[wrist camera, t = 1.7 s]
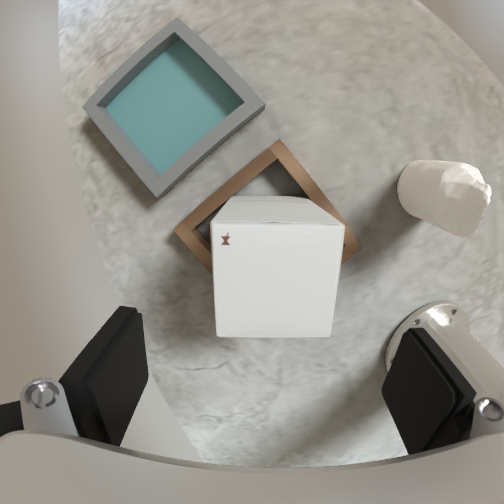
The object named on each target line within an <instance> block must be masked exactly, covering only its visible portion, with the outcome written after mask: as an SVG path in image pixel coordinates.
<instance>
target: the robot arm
mask: <svg viewBox="0 0 504 504" xmlns="http://www.w3.org/2000/svg"><path fill="white" fill-rule="evenodd" d="M385 365H386V370H387V372H388V374H387V377H386V379H385V381H384V384H383V386H382V396H383V398H384V400H385V402H386V404H387V406H388V409H389V411H390V413H391V415H392V418H393V420H394V422H395V424H396V426H397V429H398V431H399V433H400V436H401V438H402V440H403V443H404V445H405V447H406V450H407V452H408V454H409V455H406V456H401V457H396V458H391V459H385V460H379V461H372V462H365V463H357V464H348V465H338V466H325V467H305V468H262V467H241V466H228V465H218V464H209V463H200V462H193V461H186V460H180V459H174V458H169V457H164V456H158V455H153V454H148V453H143V452H139V451H134V450H130V449H126V448H122V447H120V444H121V442H122V439H123V437H124V435H125V432H126V430H127V427H128V425H129V423H130V420H131V418H132V416H133V413H134V411H135V409H136V406H137V404H138V402H139V400H140V397H141V395H142V393H143V390H144V388H145V386H146V384H147V381H148V366H147V358H146V350H145V341H144V331H143V320H142V314H141V313H138V312H137V309H136V308H132V307H125V306H120V307H119V308H118V309H117V310H116V311H115V312H114V314H113V315H112V316H111V317H110V318H109V319H108V320H107V322H106V323H105V324H104V325H103V326H102V328H101V329H100V330H99V331H98V333H97V334H96V335H95V336H94V337H93V339H91V340H90V342H89V343H88V344H87V345H86V347H85V348H84V349H83V350H82V352H81V353H80V354H79V355H78V357H77V358H76V359H75V361H74V362H73V363H72V364H71V365H70V367H69V368H68V369H67V371H66V372H65V373H64V374H63V376H62V377H61V378H60V380H59V381H56V380H53V379H51V378H38V379H34V380H32V381H30V382H28V383H27V384H26V385H25V386H24V387H23V388H22V391H21V393H20V401H16V402H11V403H7V404H3V405H0V504H504V368H503V367H502V366H501V365H500V364H499V363H498V362H497V361H496V360H495V359H494V358H493V357H492V356H491V354H490V353H489V352H488V351H487V350H486V349H485V348H484V347H483V346H482V345H481V344H480V343H479V342H478V341H477V340H476V339H475V338H474V337H473V336H472V335H471V334H470V333H469V321H468V317H467V315H466V313H465V312H464V311H463V310H462V309H461V308H460V307H459V306H458V305H456V304H455V303H452V302H449V301H439V302H433V303H431V304H428V305H425V306H424V307H422V308H420V309H418V310H417V311H415V312H414V313H413V314H411V315H410V316H409V317H408V318H407V319H406V320H405V321H404V322H403V323H402V324H401V325H400V326H399V328H398V329H397V330H396V332H395V333H394V335H393V337H392V338H391V340H390V342H389V345H388V347H387V351H386V355H385Z"/></svg>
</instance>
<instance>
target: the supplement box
mask: <svg viewBox="0 0 504 504" xmlns="http://www.w3.org/2000/svg"><path fill="white" fill-rule="evenodd" d="M344 233H345V225H344V224H342V223H341V222H340V221H338V220H337V219H336V218H334V217H333V216H332V215H330V214H329V213H327V212H326V211H325V210H323V209H322V208H320V207H319V206H318V205H316V204H315V203H313V202H312V201H311V200H309V199H308V198H307V197H296V196H252V195H239V196H234V195H232V196H231V197H230V198H229V200H228V201H227V202H226V203H225V205H224V206H223V207H222V208H221V209H220V211H219V212H218V213H217V214H216V216H215V217H214V218H213V219H212V221H211V222H210V234H211V255H212V273H213V289H214V305H215V321H216V336H217V337H232V338H328V337H330V336H331V328H332V321H333V314H334V307H335V301H336V294H337V288H338V281H339V274H340V266H341V259H342V250H343V242H344Z"/></svg>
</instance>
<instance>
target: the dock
mask: <svg viewBox="0 0 504 504" xmlns="http://www.w3.org/2000/svg"><path fill="white" fill-rule="evenodd" d="M83 109H84V110H85V111H86V113H87V114H88V115H89V116H90V118H91V119H92V120H93V121H94V123H95V124H96V125H97V126H98V128H99V129H100V130H101V131H102V133H103V134H104V135H105V136H106V138H107V139H108V140H109V141H110V143H111V144H112V145H113V146H114V147H115V149H116V150H117V151H118V152H119V154H120V155H121V156H122V157H123V158H124V160H125V161H126V162H127V163H128V164H129V166H130V167H131V168H132V169H133V170H134V172H135V173H136V174H137V175H138V176H139V178H140V179H141V180H142V181H143V182H144V184H145V185H146V186H147V187H148V188H149V189H150V191H151V192H152V193H153V194H154V195H155V197H156V198H157V197H160V196H163V195H165V194H166V193H167V192H168V191H169V190H171V189H172V188H173V187H174V186H175V185H176V184H177V183H178V182H179V181H180V180H181V179H182V178H183V177H184V176H186V175H187V174H188V173H189V172H190V171H191V170H192V169H193V168H194V167H196V166H197V165H198V164H199V163H200V162H201V161H202V160H203V159H205V158H206V157H207V156H208V155H209V154H210V153H211V152H213V151H214V150H215V149H216V148H217V147H218V146H220V145H221V144H222V143H223V142H224V141H226V140H227V139H228V138H229V137H230V136H232V135H233V134H234V133H235V132H236V131H238V130H239V129H240V128H241V127H243V126H244V125H245V124H246V123H248V122H249V121H250V120H251V119H253V118H254V117H255V116H256V115H258V114H259V113H260V112H262V111H263V110H264V109H265V103H264V102H263V101H262V100H261V99H260V97H259V96H258V95H257V94H256V93H255V92H254V91H253V90H252V89H251V88H250V87H249V86H248V85H247V84H246V82H245V81H244V80H243V79H242V78H241V77H240V76H239V75H238V74H237V73H236V72H235V71H234V70H233V69H232V68H231V67H230V66H229V65H228V64H227V63H226V62H225V61H224V60H223V59H222V58H221V57H220V56H219V55H218V54H217V53H216V52H215V51H214V50H213V49H212V48H211V47H210V46H208V45H207V44H206V43H205V42H204V41H203V40H202V39H201V38H200V37H199V36H198V35H197V34H196V33H194V32H193V31H192V30H191V29H190V28H189V27H188V26H187V25H186V24H184V23H183V22H182V21H181V20H180V19H179V18H178V17H177V18H176V19H174V20H173V21H172V22H171V23H169V24H168V25H167V26H165V27H164V28H163V29H162V30H160V31H159V32H158V33H157V34H156V35H154V36H153V37H152V38H151V39H150V40H148V41H147V42H146V43H145V44H144V45H143V46H142V47H140V48H139V49H138V50H137V51H136V52H135V53H134V54H133V55H132V56H131V57H129V58H128V59H127V60H126V61H125V62H124V63H123V64H122V65H121V66H120V67H119V68H118V69H117V70H116V71H115V72H114V73H113V74H112V75H111V76H110V77H109V78H108V79H107V80H106V81H105V82H104V83H103V84H102V85H101V86H100V88H99V89H98V90H97V91H96V92H95V93H94V94H93V95H92V96H91V97H90V99H89V100H88V101H87V102H86V103H85V104H84V106H83Z"/></svg>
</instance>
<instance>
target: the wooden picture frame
mask: <svg viewBox="0 0 504 504" xmlns="http://www.w3.org/2000/svg"><path fill="white" fill-rule="evenodd" d="M276 159H277V160H278V161H279V162H280V163H281V165H282V166H283V167H284V168H285V169H286V171H287V172H288V173H289V174H290V176H291V177H292V178H293V179H294V181H295V182H296V183H297V184H298V186H299V187H300V188H301V189H302V191H303V192H304V193H305V194H306V196H307V197H308V198H309V199H310V200H311V201H312V202H313V203H315V204H316V205H318V206H319V207H320V208H322V209H323V210H325V211H326V212H327V213H329V214H330V215H332V216H333V217H334V218H336V219H337V220H338V221H340V222H341V223H342V224H344V225H345V233H344V242H343V250H342V259H341V265H342V264H343V263H344V262H346V261H347V260H348V259H349V258H351V257H352V256H353V255H354V254H356V253H357V252H358V251H360V250H361V249H362V246H361V245H360V243H359V242H358V240H357V239H356V237H355V236H354V235H353V233H352V232H351V230H350V229H349V227H348V226H347V225H346V223H345V222H344V220H343V219H342V218H341V216H340V215H339V214H338V212H337V211H336V210H335V208H334V207H333V205H332V204H331V203H330V201H329V200H328V199H327V197H326V196H325V195H324V194H323V192H322V191H321V190H320V188H319V187H318V186H317V184H316V183H315V182H314V181H313V179H312V178H311V177H310V175H309V174H308V173H307V172H306V170H305V169H304V168H303V167H302V165H301V164H300V163H299V162H298V160H297V159H296V158H295V157H294V156H293V154H292V153H291V152H290V151H289V149H288V148H287V147H286V146H285V145H284V143H283V142H282V141H281V140H280V139H279V140H277V141H276V142H275V143H274V144H272V145H271V146H270V147H269V148H267V149H266V150H265V151H264V152H262V153H261V154H260V155H259V156H257V157H256V158H255V159H254V160H252V161H251V162H250V163H249V164H248V165H246V166H245V167H244V168H243V169H242V170H240V171H239V172H238V173H237V174H236V175H234V176H233V177H232V178H231V179H230V180H228V181H227V182H226V183H225V184H224V185H223V186H221V187H220V188H219V189H218V190H217V191H216V192H214V193H213V194H212V195H211V196H210V197H209V198H207V199H206V200H205V201H204V202H203V203H202V204H201V205H200V206H198V207H197V208H196V209H195V210H194V211H193V212H192V213H191V214H189V215H188V216H187V217H186V218H185V219H184V220H183V221H182V222H181V223H179V224H178V225H177V226H176V227H175V228H174V229H173V231H174V232H175V233H176V234H177V235H178V236H179V237H180V239H181V240H182V241H183V242H184V243H185V244H186V245H187V246H188V248H189V249H190V250H191V251H192V252H193V253H194V254H195V255H196V257H197V258H198V259H199V260H200V261H201V262H202V263H203V264H204V265H205V267H206V268H207V269H208V270H209V271H210V272H211V273H212V255H211V244H210V243H209V242H208V241H207V239H206V238H205V237H204V236H203V235H202V234H201V233H200V231H199V230H198V229H197V228H196V226H197V225H198V224H199V223H201V222H202V221H203V220H204V219H205V218H206V217H208V216H209V215H210V214H211V213H212V212H213V211H214V210H216V209H217V208H218V207H219V206H220V205H221V204H223V203H224V202H225V201H226V200H227V199H229V198H230V197H231V196H232V195H233V194H234V193H236V192H237V191H238V190H239V189H240V188H242V187H243V186H244V185H245V184H246V183H248V182H249V181H250V180H251V179H253V178H254V177H255V176H256V175H257V174H259V173H260V172H261V171H262V170H264V169H265V168H266V167H267V166H269V165H270V164H271V163H272V162H274V161H275V160H276ZM212 274H213V273H212Z"/></svg>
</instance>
